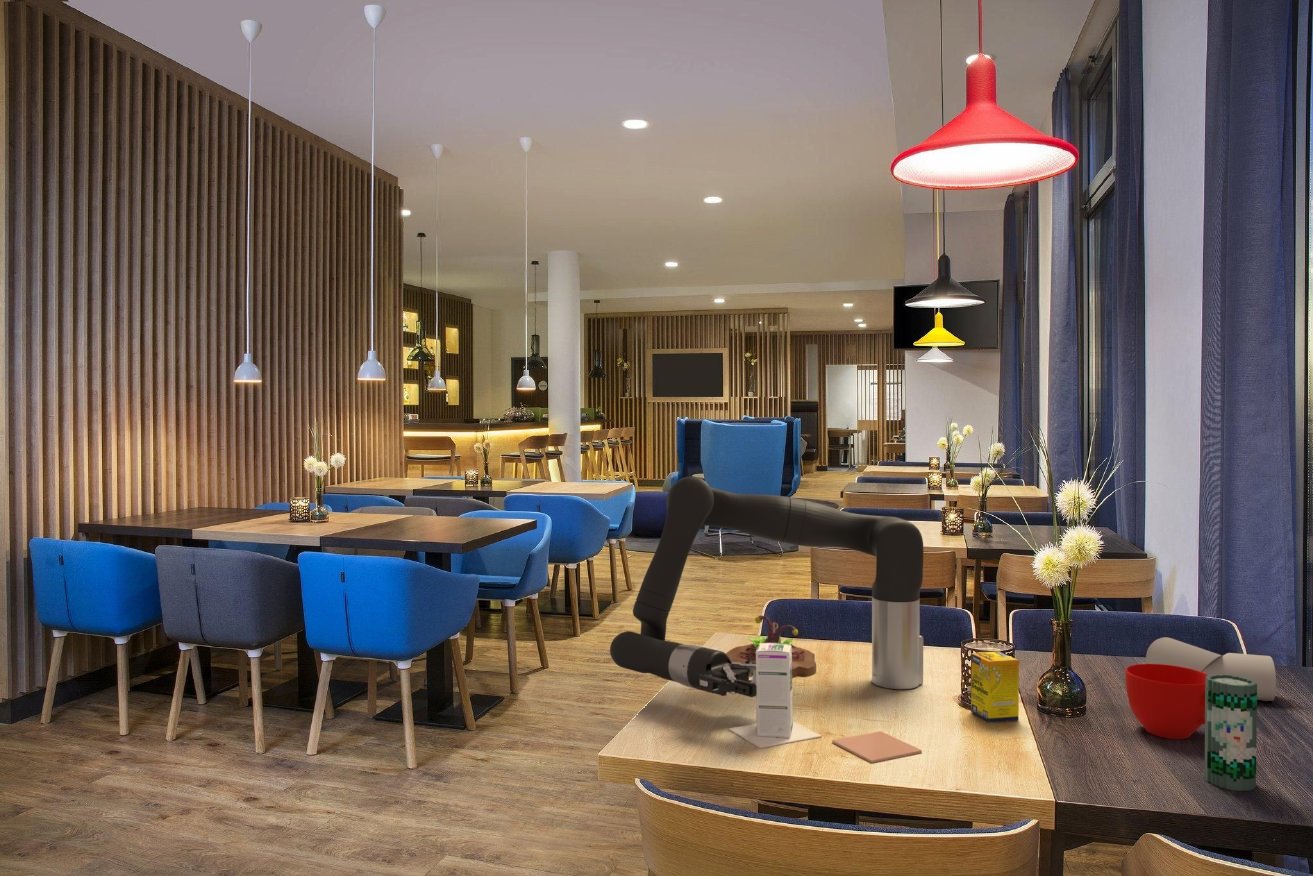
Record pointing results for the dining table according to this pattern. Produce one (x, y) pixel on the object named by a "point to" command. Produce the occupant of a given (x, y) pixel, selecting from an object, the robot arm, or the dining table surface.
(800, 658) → the plant
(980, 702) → the supplement box
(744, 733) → the white square plate
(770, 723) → the syrup box
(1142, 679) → the ceramic cup
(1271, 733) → the dining table surface
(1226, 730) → the can
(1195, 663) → the elbow connector
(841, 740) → the coaster
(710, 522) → the robot arm
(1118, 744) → the dining table surface
